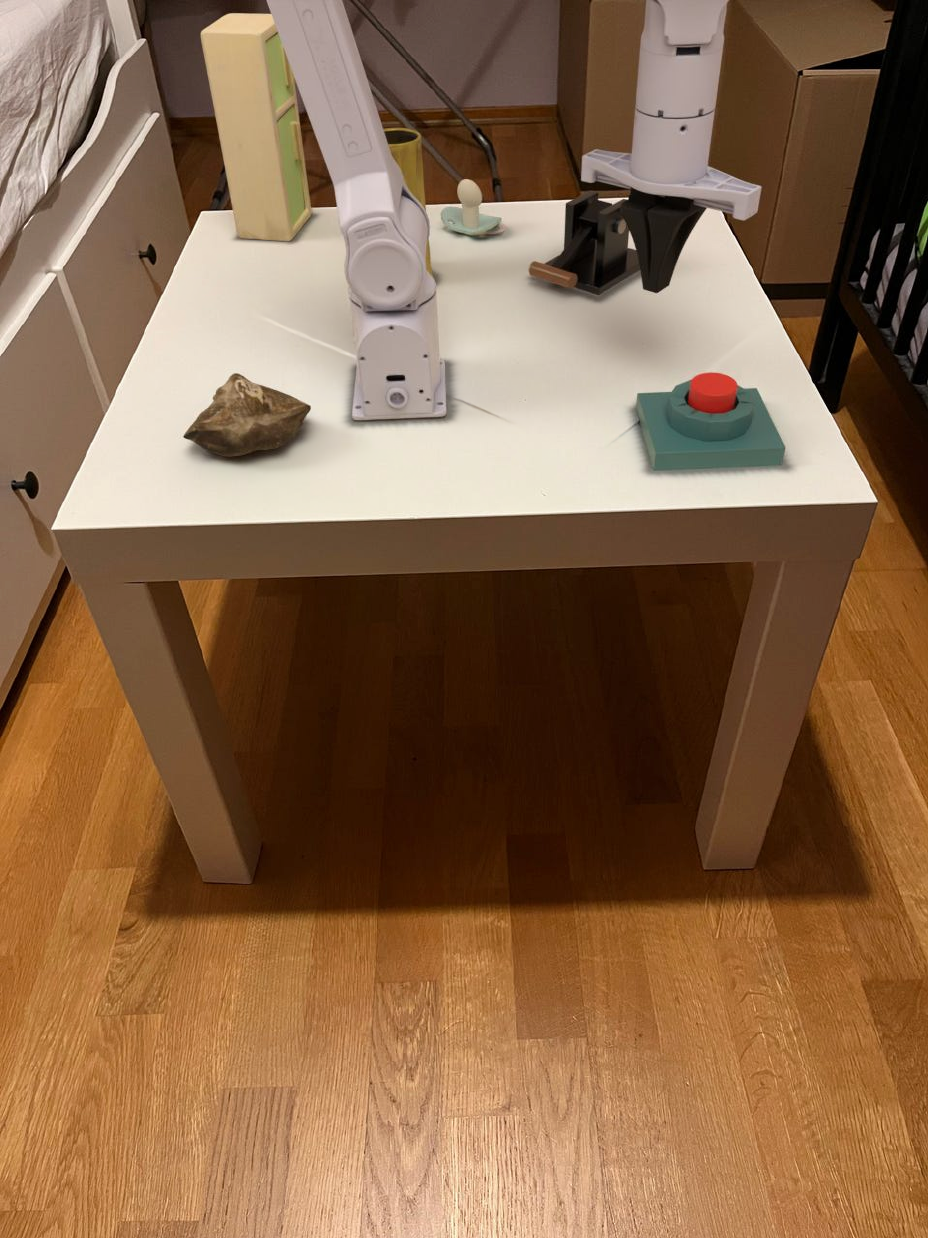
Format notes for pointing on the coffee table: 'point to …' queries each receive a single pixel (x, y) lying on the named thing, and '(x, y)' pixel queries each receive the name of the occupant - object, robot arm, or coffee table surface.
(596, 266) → the bracket
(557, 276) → the lever
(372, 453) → the coffee table surface
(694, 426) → the button block
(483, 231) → the pacifier
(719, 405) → the button
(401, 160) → the vase
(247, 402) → the fossilized seashell
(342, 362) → the coffee table surface
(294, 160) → the toy refrigerator
